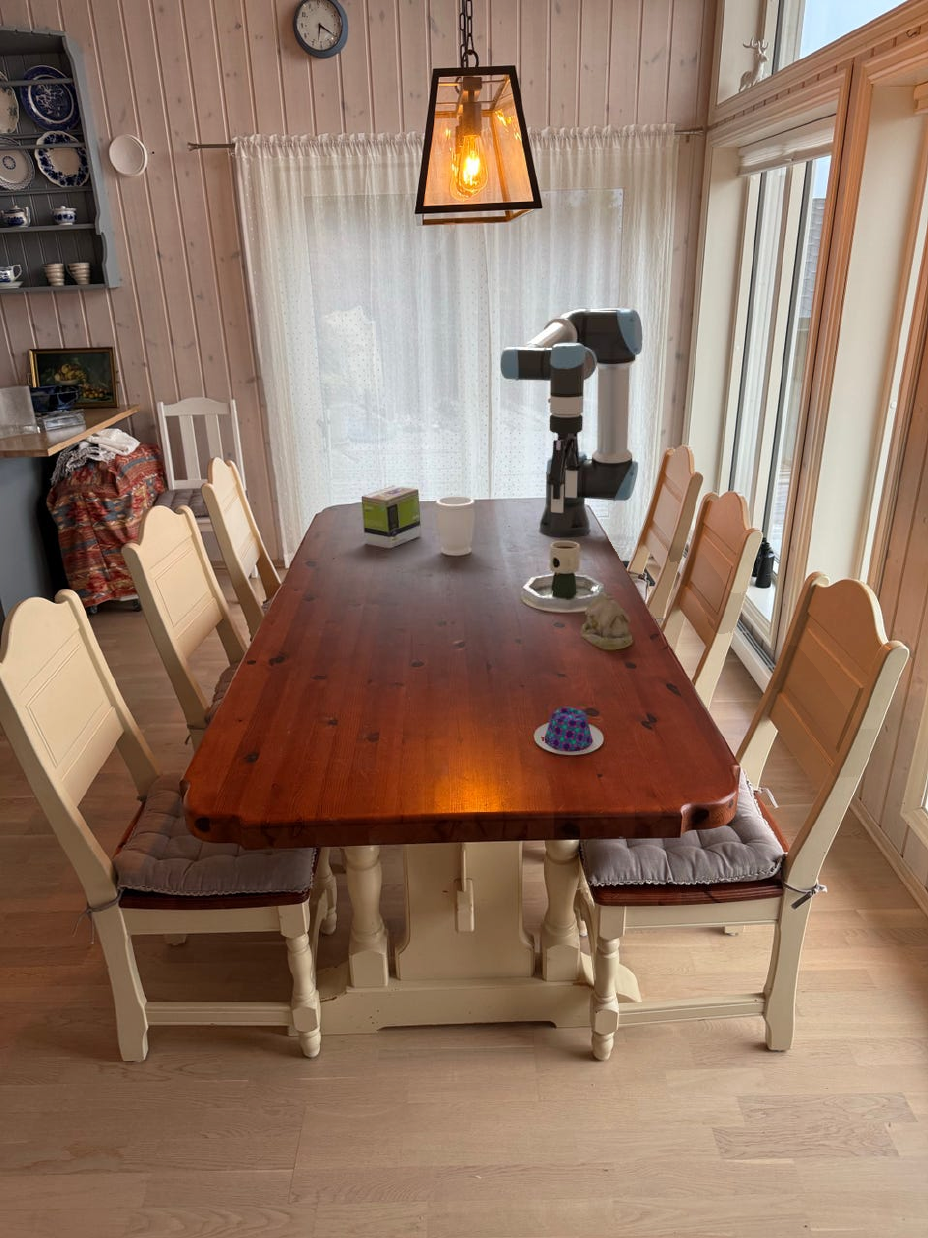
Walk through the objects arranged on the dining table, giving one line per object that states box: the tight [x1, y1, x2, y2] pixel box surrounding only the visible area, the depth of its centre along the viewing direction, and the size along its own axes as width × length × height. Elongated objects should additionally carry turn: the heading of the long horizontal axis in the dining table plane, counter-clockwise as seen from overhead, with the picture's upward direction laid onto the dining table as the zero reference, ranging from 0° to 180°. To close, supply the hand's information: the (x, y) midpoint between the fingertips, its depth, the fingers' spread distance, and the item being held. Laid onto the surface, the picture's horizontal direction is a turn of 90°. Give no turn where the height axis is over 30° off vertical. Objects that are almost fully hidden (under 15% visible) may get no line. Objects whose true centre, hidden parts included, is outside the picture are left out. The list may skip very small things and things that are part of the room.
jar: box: [436, 496, 475, 557], centre depth 250 cm, size 11×10×15 cm
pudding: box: [533, 706, 604, 756], centre depth 153 cm, size 12×12×5 cm
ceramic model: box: [580, 593, 634, 651], centre depth 194 cm, size 14×11×10 cm
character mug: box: [549, 540, 581, 598], centre depth 216 cm, size 11×7×13 cm, turn 14°
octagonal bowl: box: [520, 573, 607, 614], centre depth 218 cm, size 21×21×3 cm
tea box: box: [361, 485, 422, 549], centre depth 262 cm, size 15×10×15 cm
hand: (564, 504), depth 211 cm, fingers open, 13 cm apart
